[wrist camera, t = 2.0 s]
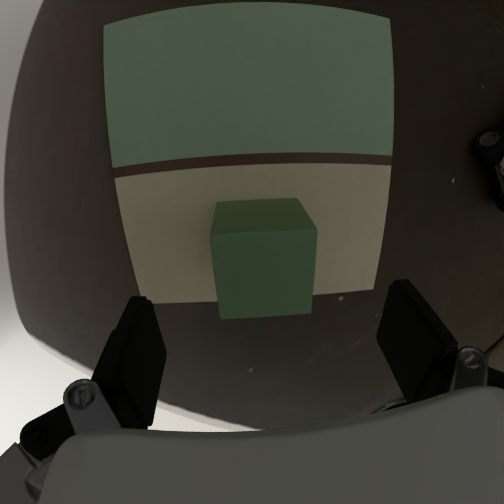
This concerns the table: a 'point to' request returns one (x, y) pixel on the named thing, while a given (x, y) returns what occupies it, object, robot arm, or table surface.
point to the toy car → (493, 158)
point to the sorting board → (249, 133)
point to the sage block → (263, 258)
